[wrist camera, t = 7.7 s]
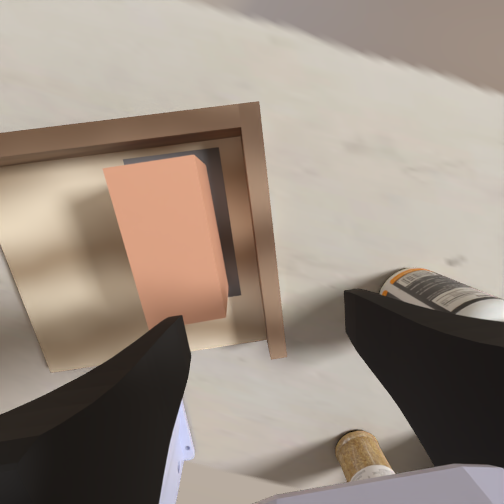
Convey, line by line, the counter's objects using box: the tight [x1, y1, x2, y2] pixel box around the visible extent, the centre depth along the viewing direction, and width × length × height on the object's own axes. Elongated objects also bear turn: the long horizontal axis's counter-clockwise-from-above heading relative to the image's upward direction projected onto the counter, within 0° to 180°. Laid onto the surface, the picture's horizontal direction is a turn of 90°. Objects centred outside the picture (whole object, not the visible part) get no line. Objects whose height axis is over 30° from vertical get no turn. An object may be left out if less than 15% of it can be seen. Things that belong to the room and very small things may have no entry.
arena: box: [0, 101, 287, 373], centre depth 17 cm, size 17×19×4 cm
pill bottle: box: [379, 268, 504, 322], centre depth 17 cm, size 6×6×10 cm
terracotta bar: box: [102, 155, 229, 330], centre depth 15 cm, size 9×4×5 cm, turn 9°
